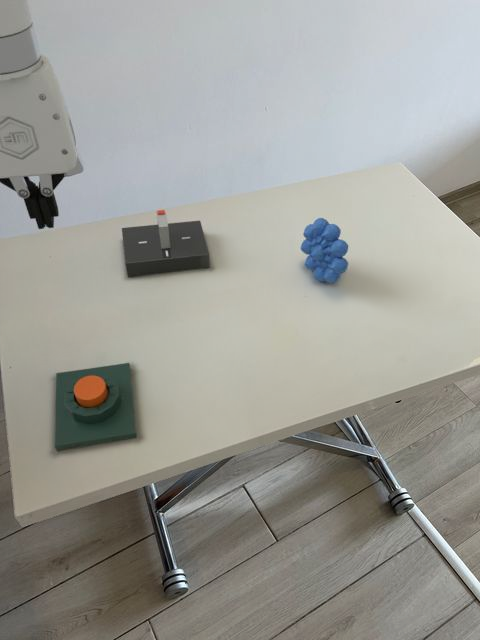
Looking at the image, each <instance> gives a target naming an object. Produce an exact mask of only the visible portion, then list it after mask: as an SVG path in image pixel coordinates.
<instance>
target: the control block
mask: <svg viewBox="0 0 480 640" xmlns="http://www.w3.org/2000/svg"><path fill="white" fill-rule="evenodd" d="M131 371H132V370H131V365H130V362H126V363H124V362H123V363H118V364H110V365H103V366H98V367H89V368H83V369H77V370H69V371H63V372H56V374H55V409H54V410H55V411H54V412H55V413H54V414H55V415H54V419H55V420H54V448H55V450H56V452H59V451H65V450H71V449H78V448H84V447H89V446H94V445H101V444H106V443H112V442H118V441H124V440H128V439H129V440H130V439H131V440H132V439H136V438H137V437H138V435H137V424H136V414H135V413H136V412H135V404H134V403H135V402H134V391H133V381H132V372H131ZM86 376H98V377H100V378H102V379H103V380H104V381H105V384H106V388H107V391H108V395H107V398H106V400H105V401H104V402H103V403H102V404H100V405H99V406H96V407H91V408H88V407H83V406H81V405H80V404H79V403H78V401H77V399H76V396H75V394H74V386H75V384H76V383H77V382H78V381H79V380H80V379H82V378H83V377H86Z"/></svg>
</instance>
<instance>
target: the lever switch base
mask: <svg viewBox="0 0 480 640" xmlns="http://www.w3.org/2000/svg"><path fill="white" fill-rule="evenodd" d="M167 223H168V229H169V239H170V248H166V249H162V248H161V242H160V237H159V230H158V224H148V225H140V226H139V225H137V226H129V227H128V226H127V227H121V236H122V244H123V245H122V247H123V254H124V263H125V270H126V276H127V277H128V278H133V277H141V276H142V277H144V276H152V275H158V274H159V275H160V274H168V273H177V272H185V271H194V270H203V269H210V268H211V264H210V263H211V261H210V252H209V248H208V244H207V241H206V237H205V236H206V235H205V233H204V230H203V229H204V228H203V225H202V221H201V220H200V219H199V220H190V221H181V222H170V223H169V222H167Z"/></svg>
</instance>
